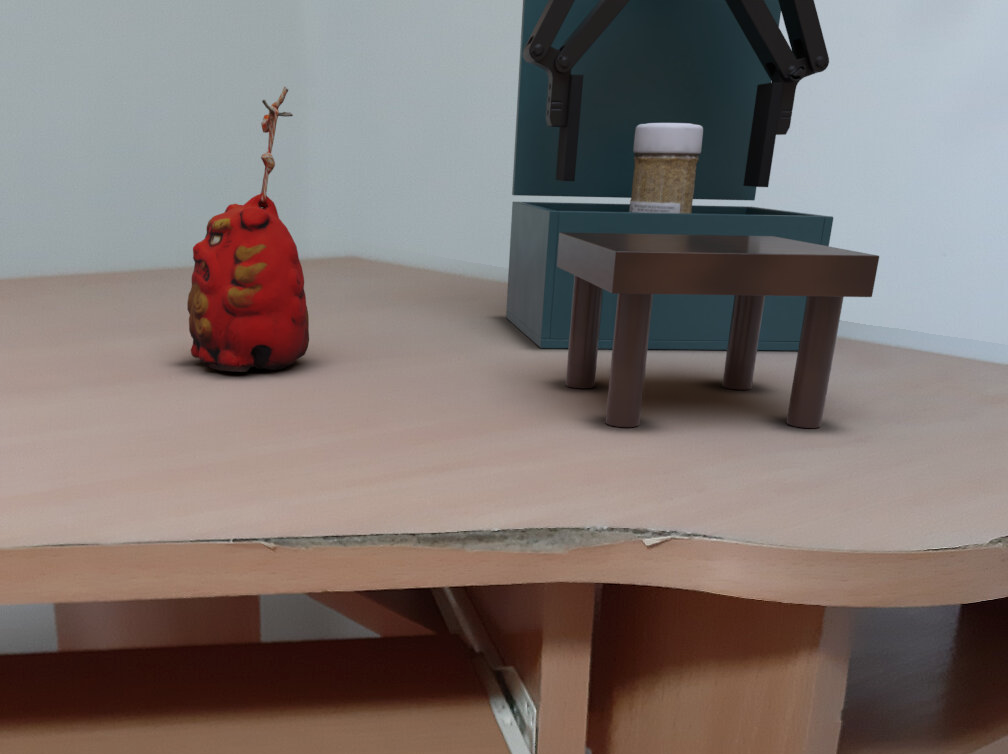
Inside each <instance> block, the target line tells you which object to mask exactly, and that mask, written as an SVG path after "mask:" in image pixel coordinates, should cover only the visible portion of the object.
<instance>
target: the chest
mask: <svg viewBox="0 0 1008 754" xmlns="http://www.w3.org/2000/svg"><path fill="white" fill-rule="evenodd" d="M629 208H630V203H599V202H598V203H597V202H596V203H595V202H554V201H553V202H549V201H512V205H511V222H510V240H509V256H508V257H509V259H508V261H509V262H508V277H507V292H506V293H507V294H506V308H505V309H506V312H505V318H506V319H507V320H508V321H509V322H510V323H512V324H513V325H514V326H515V327H516V328H517V329H518V330H519V331H520V332H522V333H523V334H524V335H525V336H526V337H528V339H529V340H531V341H532V342H533V343H534V344H535V345H537V347H538V348H540V349H569V336H570V324H571V311H572V299H573V286H574V275H573V274H571V273H569V272H567V271H565V270H563V269H561V268H559V267H557V257H558V243H559V233H560V232H568V233H622V234H676V235H729V236H775V237H780V238H785V239H791V240H796V241H802V242H807V243H813V244H818V245H824V246H829V247H830V241H831V236H832V229H833V224H834V223H833V222H834V216H832V215H822V214H814V213H808V212H807V213H806V212H798V211H791V210H784V209H783V210H782V209H775V208H765V207H758V206H748V205H747V206H743V205H698V204H697V205H693V204H692V212H691V213H645V212H629ZM617 296H618V294H613V293H611V292H609V291H607V290H604V289H603V298H602V310H601V321H600V332H599V343H598V350H599V349H601V350H612V349H613V338H614V328H615V317H616V307H617ZM806 299H807V296H765V300H764V307H763V314H762V320H761V327H760V334H759V341H758V347H757V351H785V352H786V351H787V352H788V351H789V352H793V351H794V352H795V351H797V352H798V348H799V342H800V336H801V329H802V323H803V317H804V311H805V305H806ZM733 303H734V295H680V294H653V302H652V312H651V321H650V330H649V339H648V349H647V350H677V351H678V350H679V351H680V350H685V351H686V350H687V351H689V350H691V351H694V350H695V351H727V347H728V339H729V332H730V325H731V317H732V310H733Z"/></svg>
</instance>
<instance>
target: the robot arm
mask: <svg viewBox="0 0 1008 754" xmlns="http://www.w3.org/2000/svg"><path fill="white" fill-rule="evenodd" d="M574 1H575V0H549V1H548V3H547V5H546V7H545V9H544V11H543V12H542V14H541V16H540V18H539V20H538V22H537V24H536V26H535V28H534V30H533V32H532V34H531V36H530V38H529V40H528V42H527V44H526V46H525V48H524V50H523V58H524V60H525V61H526V62H527V63H530V64H531V63H532V64H534V65H536V66H538V67H540V68H542V69H544V70H545V71H546V73H547V75H548V94H547V107H546V122H547V125H548V127H560V130H559V143H558V155H557V168H556V180H560V181H575V170H576V158H577V146H578V134H579V123H580V111H581V99H582V87H583V76H584V75H574V74H572V75H571V69H572V68H573V66H574V65H575V64H576V63H577V62H578V61H579V59H580V58H581V57H582V56H583V55H584V54H585V52H586V51H587V50H588V49H589V48H590V47H591V45H592V44H593V43H594V42H595V41H596V40H597V38H598V37H599V36H600V35H601V34H602V32H603V31H604V30H605V29H606V28H607V27H608V25H609V24H610V23H611V22H612V21H613V20H614V18H615V17H616V16H617V15H618V14H619V13H620V11H621V10H622V9H623V8H624V7H625V6H626V4H627V3H628V2H629V1H630V0H600V1H599V2H598V3H597V5H596V6H595V7H594V8H593V9H592V11H591V12H590V13H589V14H588V15H587V16H586V18H585V19H584V20H583V21H582V22H581V24H580V25H579V26H578V27H577V28H576V29H575V31H574V32H573V33H572V34H571V35H570V37H569V38H568V39H567V40H566V41H565V42H564V44H563V45H562V46H561V47H560V48H559V50H557V49H555V48H553V47H551V45H552V43H553V41H554V39H555V37H556V35H557V33H558V31H559V30H560V28H561V26H562V24H563V22H564V20H565V18H566V16H567V14H568V12H569V10H570V8H571V7H572V5H573V3H574ZM725 1H726V3H727V5H728V6H729V8H730V10H731V12H732V13H733V15H734V17H735V19H736V20H737V22H738V24H739V26H740V27H741V29H742V31H743V32H744V34H745V36H746V38H747V39H748V41H749V43H750V45H751V46H752V48H753V50H754V52H755V53H756V55H757V57H758V59H759V60H760V62H761V64H762V66H763V67H764V69H765V71H766V72H767V74H768V76H769V78H770V79H771V83H766V84H759V85H758V86H757V93H756V100H755V107H754V114H753V121H752V128H751V135H750V142H749V149H748V156H747V163H746V170H745V177H744V184H743V186H752V187H756V188H769V185H770V177H771V172H772V171H771V170H772V164H773V157H774V152H775V144H776V138H777V136H785V135H787V134H788V131H789V130H790V127H791V122H792V116H793V110H794V103H795V97H796V92H797V91H796V90H797V86H798V84H799V83H800V82H801V80H803V79H804V78H807V77H809V76H812V75H815V74H818V73H822V72H824V71H826V70H827V68H828V67H829V64H830V56H829V52H828V49H827V46H826V43H825V38H824V34H823V30H822V25H821V23H820V19H819V14H818V10H817V7H816V3H815V0H778V1H779V5H780V9H781V16H782V19H783V23H784V27H785V31H786V33H787V37H788V41H787V39H786V38H785V36H784V34H783V32H782V30H781V29H780V26H779V27H778V25H777V23H776V21H775V20H774V18H773V16H772V14H771V12H770V11H769V9H768V7H767V5H766V4H765V2H764V0H725ZM788 42H789V43H788Z"/></svg>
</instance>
